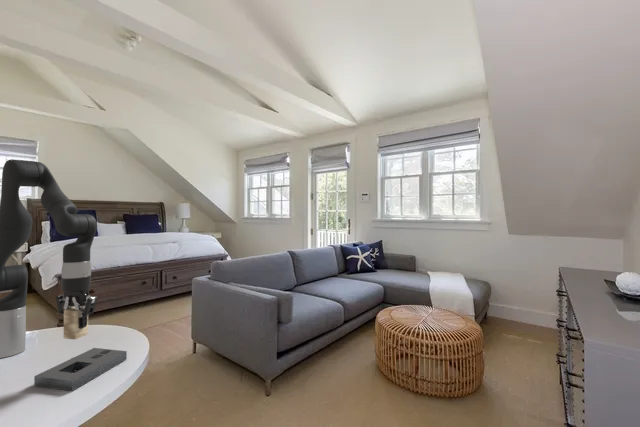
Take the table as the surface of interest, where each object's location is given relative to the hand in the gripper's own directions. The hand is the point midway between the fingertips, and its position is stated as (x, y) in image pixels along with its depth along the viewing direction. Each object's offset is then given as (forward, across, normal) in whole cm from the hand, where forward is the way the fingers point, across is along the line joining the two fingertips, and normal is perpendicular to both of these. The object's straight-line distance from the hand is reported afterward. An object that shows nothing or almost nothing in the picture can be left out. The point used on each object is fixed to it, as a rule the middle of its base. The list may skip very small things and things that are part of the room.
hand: (76, 326), depth 98 cm
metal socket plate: (+16, 0, +3) cm, 16 cm away
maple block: (+3, 0, 0) cm, 3 cm away
